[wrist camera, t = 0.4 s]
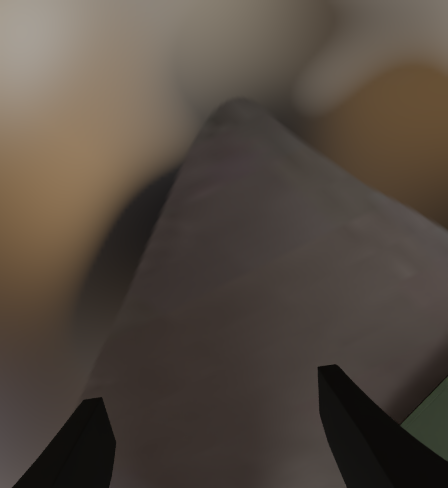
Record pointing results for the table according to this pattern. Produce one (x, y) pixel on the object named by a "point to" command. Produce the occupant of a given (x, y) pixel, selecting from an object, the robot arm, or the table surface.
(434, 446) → the green open tray
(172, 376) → the table surface
